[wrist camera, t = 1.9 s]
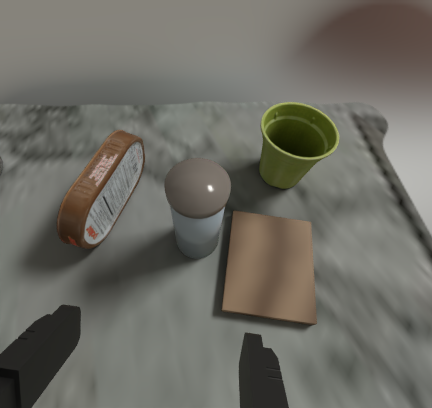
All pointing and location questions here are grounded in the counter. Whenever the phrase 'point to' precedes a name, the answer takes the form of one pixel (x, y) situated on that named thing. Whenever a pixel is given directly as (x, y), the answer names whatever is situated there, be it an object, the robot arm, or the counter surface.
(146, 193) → the counter surface
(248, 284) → the tan board
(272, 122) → the plant pot
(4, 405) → the robot arm
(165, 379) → the counter surface
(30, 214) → the counter surface
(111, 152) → the tin
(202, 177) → the blue jar
